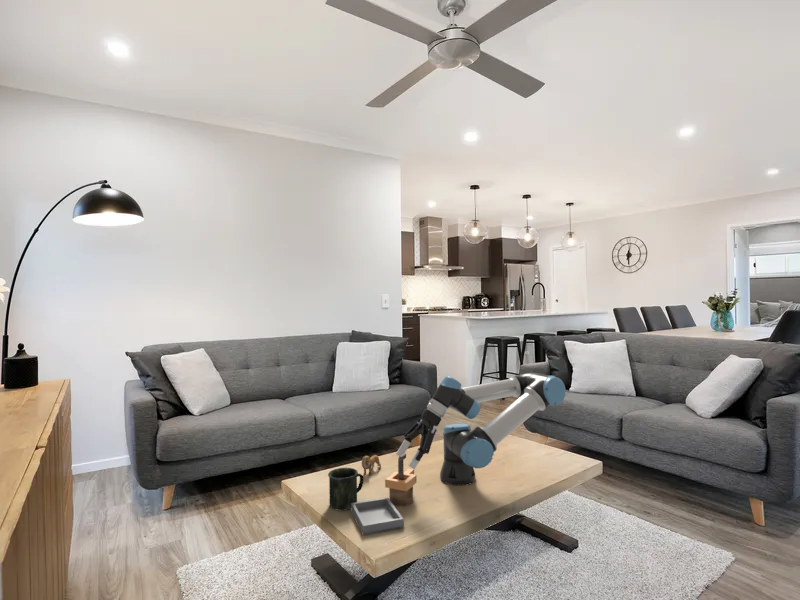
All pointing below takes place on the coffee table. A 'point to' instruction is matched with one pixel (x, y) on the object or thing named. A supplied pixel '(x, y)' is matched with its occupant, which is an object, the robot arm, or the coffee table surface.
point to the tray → (377, 516)
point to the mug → (343, 487)
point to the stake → (398, 495)
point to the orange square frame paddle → (400, 484)
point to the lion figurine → (370, 463)
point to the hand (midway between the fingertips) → (404, 461)
